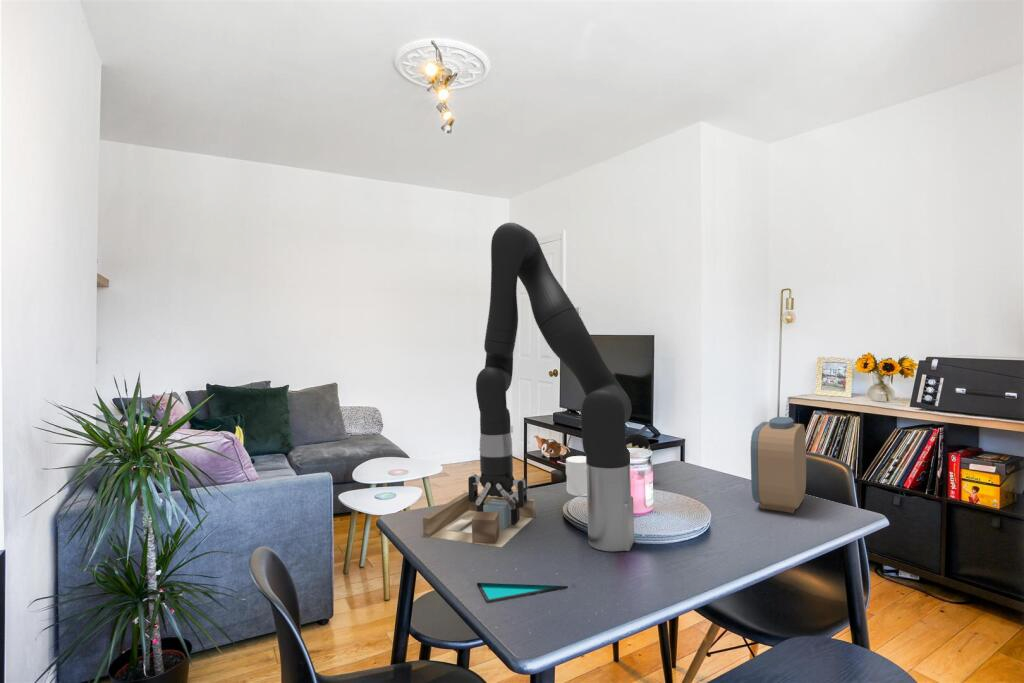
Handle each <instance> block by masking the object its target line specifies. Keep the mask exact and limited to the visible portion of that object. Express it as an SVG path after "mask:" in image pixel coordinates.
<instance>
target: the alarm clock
mask: <svg viewBox="0 0 1024 683" xmlns="http://www.w3.org/2000/svg"><path fill="white" fill-rule="evenodd" d="M794 422H795V420H794V419H793V418H792V417H787V416H775V417H772V418H770V419H769V421H762V422H761V423H759V424H758V425H757V426H756V427H754V429H753V430H752V433H751V439H750V480H751V481H750V483H751V484H750V485H751V495H752V499H753V500H754V502H755V503H757V504H759V509H764V510H772V511H778V512H785V513H791V514H794V512H795V511H796V509H798V508H799V507H800V505H801V503H802V501H803V500H804V497H805V494H806V490H807V489H806V488H807V451H806V450H807V447H806V446H807V445H806V443H807V442H806V429H805V424H804V423H794Z"/></svg>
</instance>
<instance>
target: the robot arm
mask: <svg viewBox="0 0 1024 683" xmlns="http://www.w3.org/2000/svg"><path fill="white" fill-rule="evenodd" d="M490 244H491V245H490V261H491V264H490V266H491V267H490V268H491V271H490V272H491V274H490V295H489V296H490V298H489V309H488V317H487V323H486V324H487V325H486V331H485V338H484V344H483V346H484V352H485V353H486V355H485V363H484V368H483V369H481V370H480V371H479V372H478V375H477V377H476V381H475V391H476V399H477V404H478V410H479V415H480V417H479V429H480V434H479V435H480V436H479V438H480V439H479V450H478V451H479V462H480V463H479V465H480V469H479V470H480V475H477V474H476V473H475V474H474V473H473V475H470V476H469V477H468V480H467V481H468V482H467V483H468V485H467V486H468V492H469V501H470V502H474V503H475V504H476V505H477V512H483V505H485V503H484V501H485V500H486V498H487V497H488V496H489V495H490V496H497V497H504V499H505V500H506V501H507V502H508V503H509V505H510V506H511V508H512V509H511V525H516V524H517V522H519V520H520V511H519V508H520V507H521V508H522V507H523V506H525V505H526V504H527V498H528V492H527V491H528V490H527V489H528V486H527V479H526V478H521V479H518V478H517V479H515V478H514V476H513V473H514V465H513V460H514V459H513V441H512V440H513V438H512V428H511V414H510V410H509V408H508V406H507V405H508V404H507V391H508V390H509V389H510V387H511V383H512V380H513V374H514V373H513V370H514V351H515V346H516V341H517V340H516V339H517V333H518V327H519V326H518V325H519V310H518V299H517V298H518V296H517V293H518V292H517V290H518V288H517V285H518V279H519V280H520V282H521V283H522V284H523V286H524V288H525V290H526V293H527V295H528V299H529V302H530V307H531V310H532V311H531V312H532V314H533V318H534V320H535V322H536V326H537V328H538V329H539V331H540V333H541V335H542V336H543V338H544V340H545V341H546V343H547V345H548V346H549V348H550V349H551V351H552V352H553V353H554V354H555V356H556V357H557V358H559V360H560V361H561V362H562V363H563V365H565V366H566V367H567V368H568V369H569V370H570V371H571V373H572V374H573V375H574V376H575V378H576V379H577V382H579V385H580V386H581V388H582V391H583V392H584V394H585V398H584V400H583V401H582V403H581V404H582V405H581V410H580V411H581V412H580V416H581V417H580V421H581V422H580V423H581V438H582V440H581V441H582V448H583V452H584V454H585V456H586V473H587V497H586V501H587V502H586V503H587V505H586V506H587V539H588V540H587V541H588V545H589V546H590V547H592V548H594V549H595V550H599V551H603V552H624V551H625V552H630V550H631V548H632V547H633V544H634V542H635V516H634V515H635V514H634V512H635V511H634V510H635V509H634V496H632V492H631V491H632V490H631V487H632V485H631V464H630V452H629V450H628V449H627V446H626V438H627V437H626V436H627V434H626V424H627V422H628V421H629V420H630V418H631V415H632V410H633V407H632V402H631V399H630V397H629V395H628V394H627V393H626V390H624V388H623V387H622V385H621V384H620V383H619V381H618V380H617V378H616V377H615V375H613V373H612V372H611V370H610V369H609V368H608V366H607V364H606V363H605V361H604V359H603V357H602V356H601V354H600V351H599V350H598V347H597V345H596V344H595V341H594V340H593V338H592V336H591V334H590V332H589V331H588V329H587V327H586V325H585V323H584V321H583V320H582V318H581V316H580V314H579V312H578V311H577V309H576V307H575V306H574V304H573V303H572V301H571V299H570V298H569V297H568V296H569V295H568V294H567V293H566V291H565V290H564V288H563V287H562V285H561V284H560V282H559V281H558V279H557V278H556V276H555V275H554V273H553V271H552V270H551V268H550V265H549V264H548V260H547V259H546V257H545V255H544V251H543V249H542V248H541V247H542V246H541V245H540V242H539V240H538V238H537V237H536V235H535V234H534V233H533V232H531V230H529V229H527V228H526V227H524V226H523V225H520V224H518V223H516V222H506V223H502V224H501V225H500V226H498V227H497V228H496V229H495V231H494V233H493V235H492V237H491V243H490ZM479 484H481V486H482V487H483V489H482V490H481V492H480V493H479V489H478V487H479ZM514 486H515V489H516V490H517V494H516V492H515V491H514V489H513V487H514ZM478 493H479V494H480V495H479V497H478ZM517 497H518V499H517Z"/></svg>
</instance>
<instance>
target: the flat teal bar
mask: <svg viewBox="0 0 1024 683" xmlns="http://www.w3.org/2000/svg"><path fill="white" fill-rule="evenodd" d="M476 586H477V588H478V590H479V591H480V593H481V595H482V597H483V599H484V601H485V603H487V604H491V603H495V602H501V601H506V600H511V599H512V600H513V599H517V598H522V597H527V596H534V595H539V594H544V593H546V594H547V593H551V592H557V591H559V590H566V589H568V587H569V586H568V585H549V584H548V585H546V584H545V585H542V584H520V583H519V584H517V583H494V582H493V583H491V582H476Z"/></svg>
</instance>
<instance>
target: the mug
mask: <svg viewBox="0 0 1024 683" xmlns="http://www.w3.org/2000/svg"><path fill="white" fill-rule="evenodd" d="M565 476H566V493H568V494H569V495H572V496H573V497H574V496H575V497H580V495H584V494H587V473H586V455H585V456H584V455H575V456H569V457H567V458H565Z"/></svg>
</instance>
